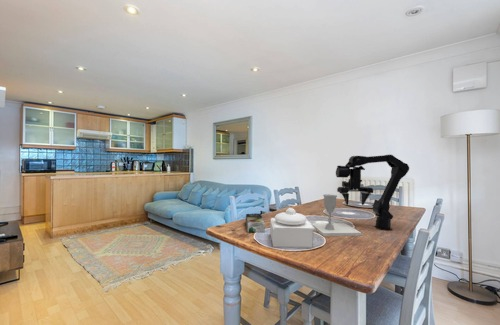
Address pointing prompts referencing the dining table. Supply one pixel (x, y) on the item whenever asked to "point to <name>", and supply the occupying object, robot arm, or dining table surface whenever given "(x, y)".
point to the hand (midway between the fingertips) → (354, 205)
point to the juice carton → (255, 223)
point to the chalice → (329, 208)
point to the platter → (336, 229)
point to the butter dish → (291, 230)
